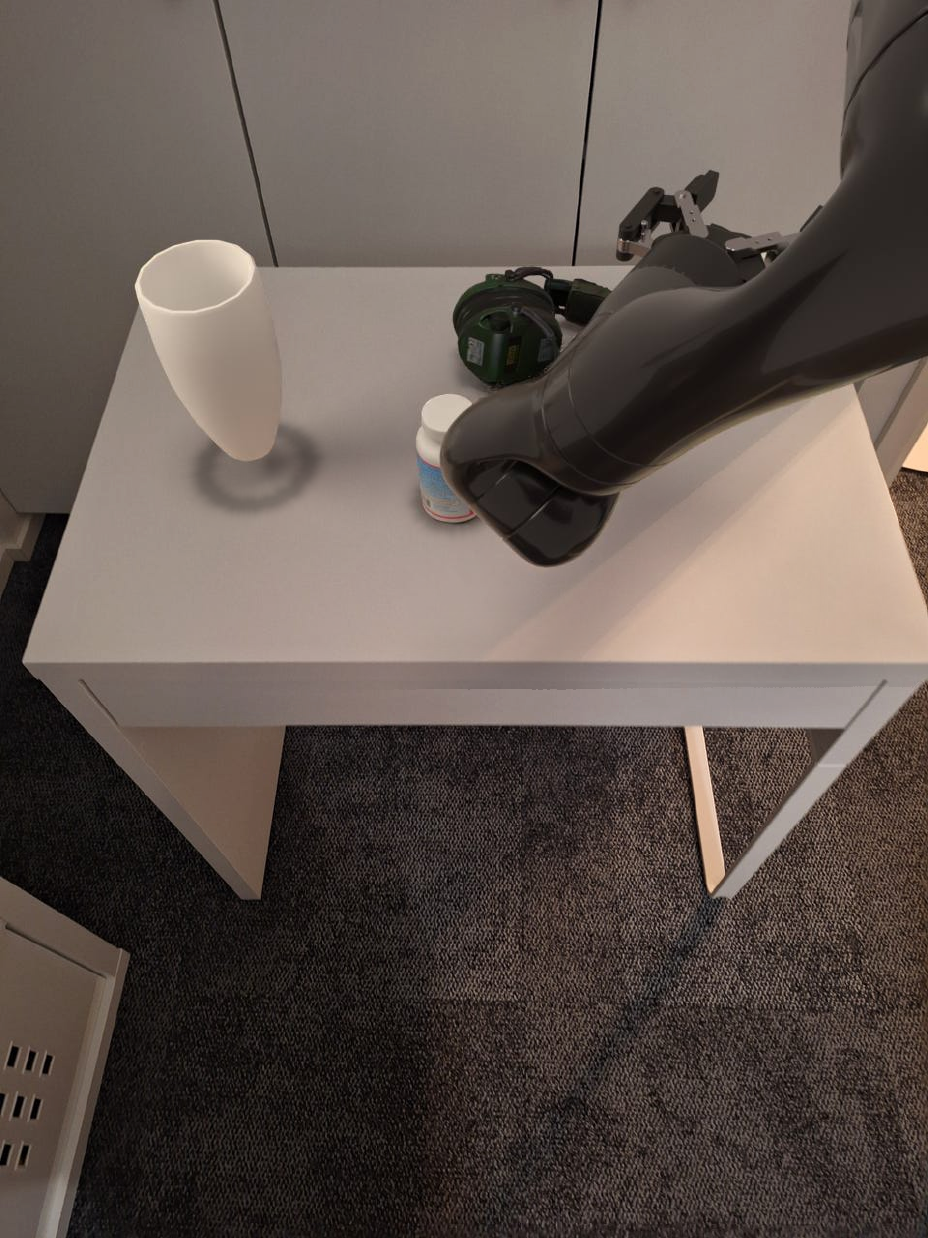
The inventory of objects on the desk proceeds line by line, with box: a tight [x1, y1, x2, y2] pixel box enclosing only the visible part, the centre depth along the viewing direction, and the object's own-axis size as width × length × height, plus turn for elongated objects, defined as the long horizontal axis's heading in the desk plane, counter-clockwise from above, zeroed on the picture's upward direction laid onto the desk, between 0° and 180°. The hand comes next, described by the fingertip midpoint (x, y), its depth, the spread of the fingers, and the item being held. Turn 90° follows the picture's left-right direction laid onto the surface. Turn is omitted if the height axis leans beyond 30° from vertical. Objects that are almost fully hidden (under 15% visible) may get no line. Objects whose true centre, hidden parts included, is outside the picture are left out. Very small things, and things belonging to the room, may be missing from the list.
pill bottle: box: [415, 393, 477, 523], centre depth 82 cm, size 6×6×11 cm
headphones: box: [452, 265, 613, 387], centre depth 93 cm, size 13×13×20 cm
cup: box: [134, 239, 283, 462], centre depth 81 cm, size 10×10×22 cm
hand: (765, 199), depth 67 cm, fingers open, 8 cm apart
